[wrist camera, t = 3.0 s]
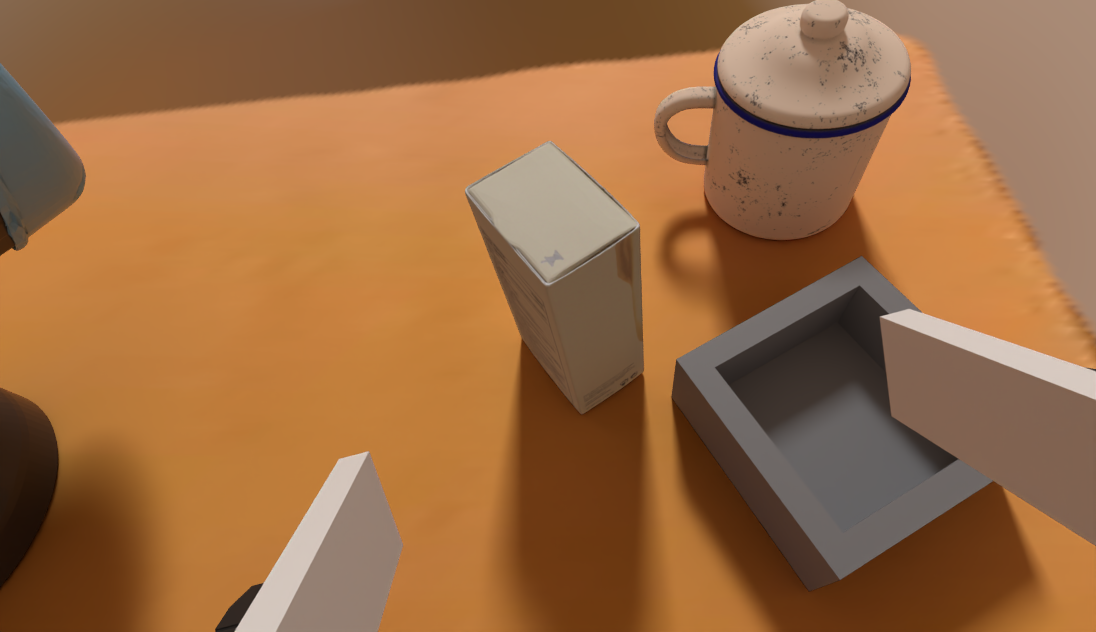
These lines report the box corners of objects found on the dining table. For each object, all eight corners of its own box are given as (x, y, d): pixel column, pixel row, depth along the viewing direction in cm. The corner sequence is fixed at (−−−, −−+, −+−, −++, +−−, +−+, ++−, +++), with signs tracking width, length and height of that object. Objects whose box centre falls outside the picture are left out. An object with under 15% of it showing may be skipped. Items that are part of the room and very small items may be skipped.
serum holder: (809, 591, 25) (840, 579, 21) (671, 397, 30) (676, 359, 26) (996, 470, 27) (1057, 439, 23) (834, 304, 32) (861, 256, 28)
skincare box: (647, 372, 31) (651, 229, 21) (580, 418, 30) (550, 294, 20) (577, 292, 34) (550, 132, 24) (515, 332, 34) (459, 185, 23)
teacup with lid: (844, 133, 38) (920, -55, 28) (864, 248, 33) (961, 73, 23) (655, 135, 40) (660, -40, 30) (649, 244, 35) (653, 81, 25)
